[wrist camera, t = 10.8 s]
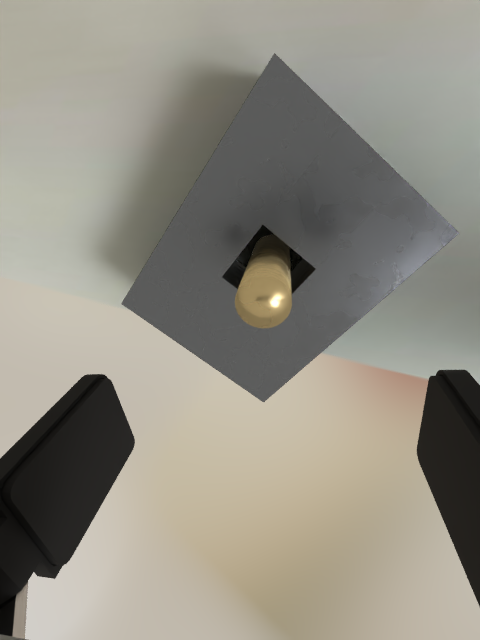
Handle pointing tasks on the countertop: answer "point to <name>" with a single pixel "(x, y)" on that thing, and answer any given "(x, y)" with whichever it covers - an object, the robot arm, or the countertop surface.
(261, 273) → the brass pin
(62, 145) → the countertop surface
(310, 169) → the block
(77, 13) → the countertop surface
